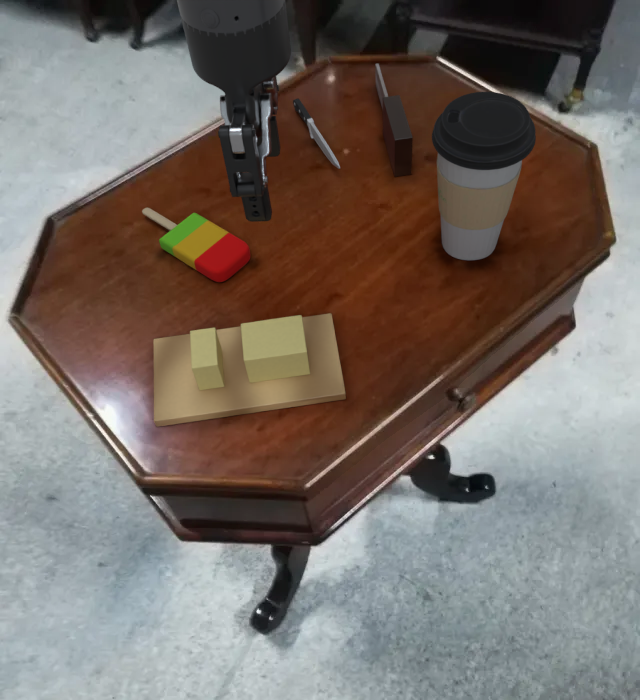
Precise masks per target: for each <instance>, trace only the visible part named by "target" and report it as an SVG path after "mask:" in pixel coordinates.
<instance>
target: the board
mask: <svg viewBox="0 0 640 700" xmlns="http://www.w3.org/2000/svg"><path fill="white" fill-rule="evenodd" d="M302 321H303V328H304V335H305V342H306V348H307V355H308V362H309V369H310V374H308V375H301V376H294V377H287V378H281V379H274V380H267V381H260V382H253V383H250V382H249V378H248V375H247V371H246V367H245V363H244V357H243V345H242V334H241V325H240V326H233V327H227V328H220V329H216V332H217V335H218V338H219V342H220V345H221V349H222V357H223V372H224V387H219V388H213V389H206V390H199V387H198V385H197V382H196V379H195V376H194V374H193V371H192V367H191V341H190V333H185V334H178V335H172V336H164V337H157V338H153V423H154V424H155V427H156V428H157V427H164V426H172V425H179V424H185V423H186V424H187V423H192V422H193V423H194V422H199V421H206V420H212V419H213V420H215V419H220V418H227V417H234V416H240V415H246V414H247V415H248V414H254V413H260V412H261V413H262V412H268V411H276V410H282V409H288V408H294V407H303V406H309V405H315V404H322V403H329V402H336V401H343V400H344V401H345V400H346V399H347V393H346V386H345V381H344V374H343V371H342V370H343V369H342V366H341V365H342V364H341V360H340V359H341V358H340V353H339V347H338V342H337V337H336V331H335V325H334V319H333V314H332V313H331V312H329V313H322V314H317V315H316V314H315V315H308V316H302Z"/></svg>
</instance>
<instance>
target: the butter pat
mask: <svg viewBox="0 0 640 700" xmlns="http://www.w3.org/2000/svg"><path fill="white" fill-rule="evenodd" d="M216 330H217V328H216V327H208V328H207V327H206V328H201V329H196V330H195V329H194V330H190V331H189V334H190V341H191V367H192V371H193V374H194V376H195V379H196V382H197V385H198V387H199V390H206V389H213V388H219V387H224V372H223V357H222V349H221V345H220V342H219V338H218V335H217V332H216Z"/></svg>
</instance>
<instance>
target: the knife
mask: <svg viewBox="0 0 640 700" xmlns="http://www.w3.org/2000/svg"><path fill="white" fill-rule="evenodd" d="M292 103H293V108H294V110H295V112H297V113H298V115H299V116H300V118H301V119H302V121H303V122H304V123H305V125H306V126H307V127H308V131H309V136H310V138H311V139H313V140H314V141H315V142H316V144H317V145H318V147H319V148H320V150H321V152H322V153H323V154H324V155H325V156H326V158H327V160H328V161H329V162H330V163H331V164H332V165H333V166H334V167H336V168H337V169H341V166H340V162H339V161H338V159H337V157H336V156H335V154H334V152H333V151H332V149H331V148H330V146H329V144H328V143H327V141H326V139H325V138H324V137H323V135H322V134H321V132H320V131H319V129H318V127H317V126H316V124H315V121H314V119H313V118H312V116H311V114H310V113H309V111H308V110H307V108H306V107H305V105H304V103H303V102H302V101H301V99H300V98H294V99H293V100H292Z"/></svg>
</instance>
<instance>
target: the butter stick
mask: <svg viewBox="0 0 640 700" xmlns="http://www.w3.org/2000/svg"><path fill="white" fill-rule="evenodd" d="M302 317H303V316H302V314H298V315H290V316H285V317H284V316H283V317H277V318H269V319H264V320H263V319H262V320H255V321H249V322H242V323H240V326H241V334H242V345H243V357H244V363H245V367H246V371H247V375H248V378H249V382H250V383H253V382H260V381H267V380H274V379H281V378H287V377H294V376H301V375H308V374H310V369H309V362H308V355H307V348H306V342H305V335H304V328H303V321H302Z"/></svg>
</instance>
